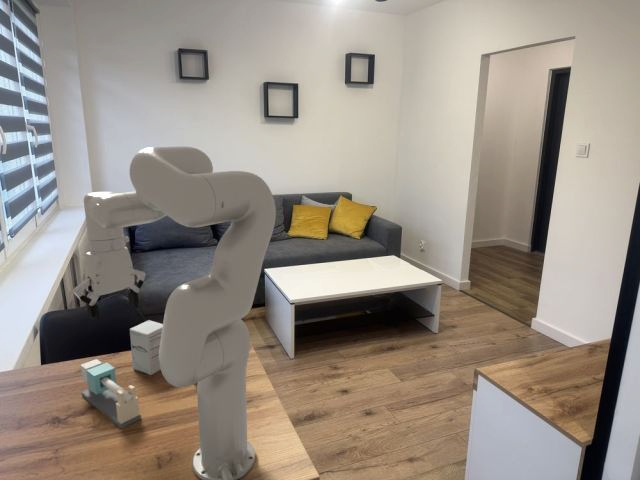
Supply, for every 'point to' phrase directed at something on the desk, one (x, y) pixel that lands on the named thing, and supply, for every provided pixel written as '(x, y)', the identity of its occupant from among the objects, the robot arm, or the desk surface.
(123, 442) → the desk surface
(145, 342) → the supplement box
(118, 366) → the desk surface
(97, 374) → the sleeve
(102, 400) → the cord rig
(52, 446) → the desk surface
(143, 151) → the robot arm
